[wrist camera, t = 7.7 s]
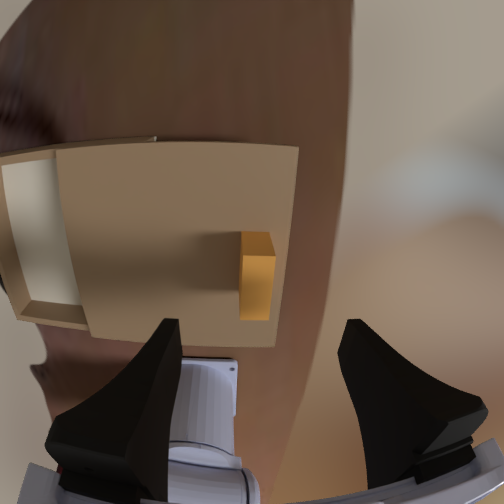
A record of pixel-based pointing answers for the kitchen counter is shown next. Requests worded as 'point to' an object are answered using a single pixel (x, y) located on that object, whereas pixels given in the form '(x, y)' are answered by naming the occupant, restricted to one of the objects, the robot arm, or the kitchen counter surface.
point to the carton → (39, 237)
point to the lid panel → (180, 237)
